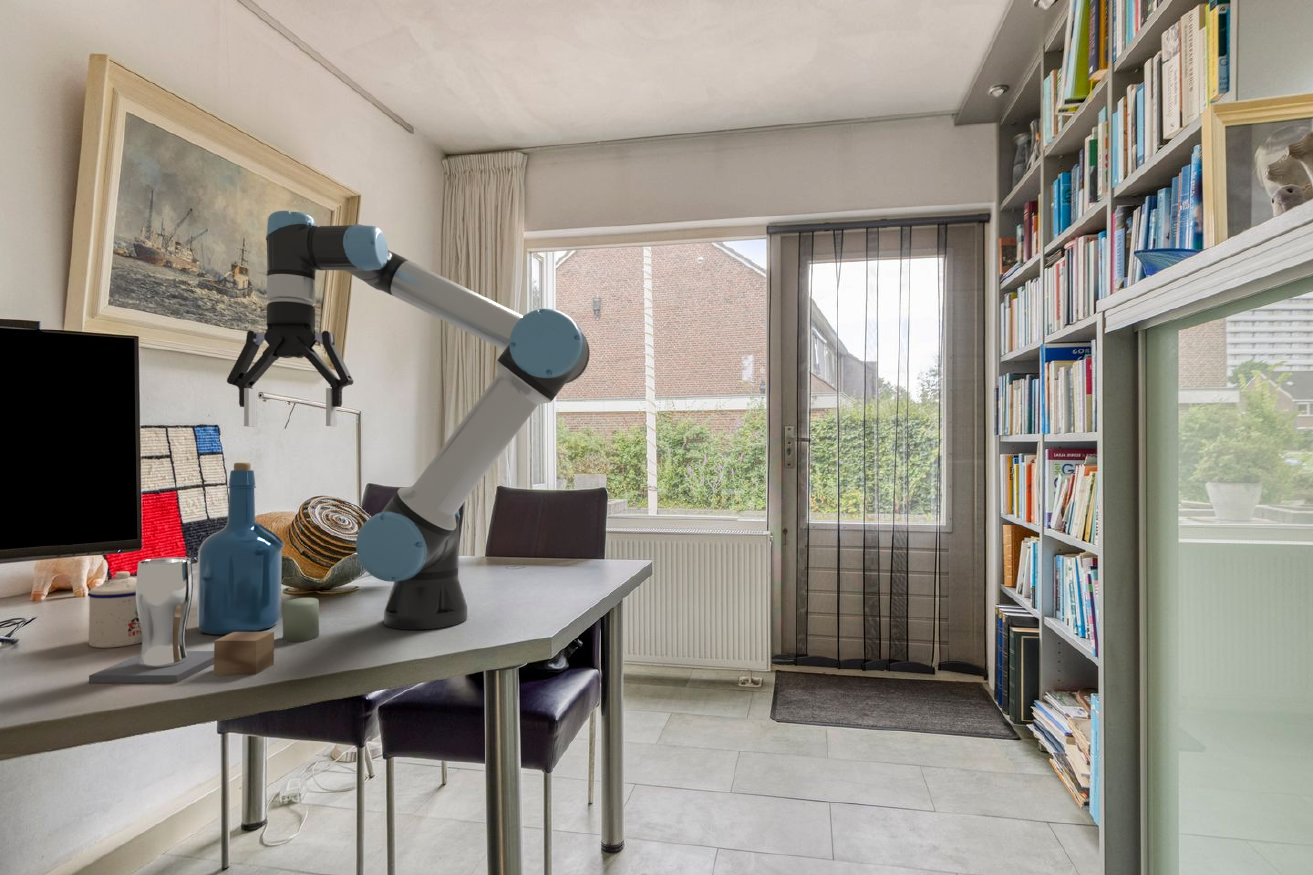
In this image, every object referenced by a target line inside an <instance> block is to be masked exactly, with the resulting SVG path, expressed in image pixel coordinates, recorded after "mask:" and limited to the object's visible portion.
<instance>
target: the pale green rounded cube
mask: <svg viewBox="0 0 1313 875" xmlns="http://www.w3.org/2000/svg"><path fill="white" fill-rule="evenodd" d="M319 602H320V601H319V599H318V598H316V597H299V598H293V599H289V600H286V601H284V602H283V603H282V640H283V641H285V642H289V643H295V642H296V643H297V642H299V643H300V642H301V643H302V642H305V641H306V642H307V641H310V640H314V639H316V638H317V637H319V636H320V603H319Z"/></svg>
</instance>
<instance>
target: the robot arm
mask: <svg viewBox="0 0 1313 875" xmlns="http://www.w3.org/2000/svg"><path fill="white" fill-rule="evenodd" d="M266 228H267V230H266V235H265V241H266V260H267V261H266V264H267V266H266V268H267V269H266V270H267V271H266V300H267V301H268V303H267V304H266V328H267V329H266V331H265V332H264V333H263V332H258V331H254V330H252V329H251V330H248V331H247V332H246V338H245V344H244V346H243V348H242V349H241V351H240V354H239V356H237V359H236V361H235V363H234V365H233V367H232V369H231V371H230V372H229V375H228V376H227V378H226V383H228V384H229V385H232V386H235V387H237V388H238V405H239V407H240V408H243V426H244V427H248V428H249V427H250V428H251V427H252V428H254V427H255V428H257V424H258V423H257V418H258V417H257V412H258V411H257V405H258V404H257V398H258V397H257V391H258V390H257V389H255V388H254V387H253V386H254V385H255V384H256V383H257V381H259V379H260V378H262V377H263V375H264V374H265V373H266V371H268V369H269V368H270V367H271V366H272V365H273V363H274V362H276V361H278V360H279V358H284V359H291V358H297V359H303V358H305V359H307V360H308V362H309V363H311V365H312V366H313V367H314V368H315V370H317V372H318V373H319V374H320V375H321V376H322V378H323V379H324V380H325V381H326V382H327V383H328V384H329V387H326V388H325V427H337V426H338V425H337V424H338V422H337V420H338V419H337V416H338V415H337V412H338V410H337V409H338V408H341V407H342V404H343V388H346V387H348V386H352V385H353V384H354V379H353V377H352V375H351V373H350V371H349V370H348V368H347V365H346V364H345V362H344V360H343V358H342V356H341V354H340V352H339V350H338V347H337V346H336V341H335V340H336V339H335V334H334V333H332V332H330V331H328V330H323V331H322V332H316V330H315V329H316V308H315V307H314V306H313V305H314V304H315V303H316V271H345V272H347V273H348V274H350V275H352V276H354V277H356V278H357V279H360V280H361V281H363V282H365V284H367V285H368V286H369V287H372V288H374V289H375V290H378V291H382V292H384V293H386V294H388V295H390V296H393V297H395V298H396V299H398V300H401V301H403V302H405V303H407V304H409V305H410V306H413V307H415V308H417V309H419V310H421V311H423V312H424V313H427V314H429V315H432V316H434V317H435V318H438V319H439V320H441V321H444V322H446V323H447V324H449V325H452V326H453V327H456V328H458V329H460V330H462V331H464V332H466V333H468V334H471V335H472V336H474V337H476V338H477V339H481V340H482V341H483V342H486V343H488V344H490V345H492V346H494V347H497V348H498V349H500V350H502V351H503V352H502V353H501V354H500V356H499V357H498V358H497V360H495V363H496V370H497V373H496V375H495V377H494V378H493V380H492V381H491V383H490V384H489V385H488V387H487V388H486V389H485V390H484V391H483V393H482V394H481V396H480V397H479V398H478V399H477V401H476V402H475V404H474V405H473V406H472V408H471V409H470V410H469V411H468V413H467V414H466V415H465V417H464V418H463V419H462V420H461V422H460V423H459V425H458V426H457V427H456V429H455V430H454V431H453V432H452V434H451V435H450V437H449V438H448V439H447V441H446V442H445V443H444V445H442V447H441V448H440V449H439V451H438V452H437V453H436V454H435V456H434V457H433V459H432V460H431V461H430V463H429V464H428V466H427V467H426V468H425V469H424V470H423V472H422V474H420V476H419V477H418V478H417V479H416V481H415V482H414V484H413V485H411V486H410V485H409V486H404V487H400V488H399V489H398V490H397V491H396V492H395V494H394V495H393V496H392V498H391V499H390V500H389V502H387V504H386V505H385V507H384V508H383V509H382V511H380V512H378V513H376V514H374V515H373V516H370V518H369V519H367V520H366V521H365V522H364V523H363V524H362V526H361V527H360V529H359V531H358V533H357V536H356V542H355V550H356V554H357V558H358V561H359V563H360V565H361V566H362V568H363V569H364V570H365V571H366V572H367V573H368V574H370V575H371V576H372V577H374V578H376V579H378V580H379V581H383V582H389V583H390V582H392V583H393V585H392V587H391V590H390V593H389V596H388V600H387V602H386V605H385V608H384V611H383V624H384V625H385V627H388V628H389V627H390V628H392V629H396V630H397V629H399V630H430V629H440V628H446V627H451V626H455V625H457V624H461V623H463V622H465V621H466V620H468V604H467V602H466V599H465V596H464V593H463V589H462V586H461V582H460V579H459V578H460V577H459V562H460V561H459V558H460V557H459V550H460V548H459V545H460V543H459V542H460V521H461V516H460V508H461V507H462V506H463V505H464V503H465V502H466V500H467V499H468V498H469V496H470V495H471V494H472V493H473V491H474V490H475V488H476V487H477V486H478V485H479V484H480V482H481V481H482V479H483V478H484V477H485V476H486V474H487V472H488V471H489V470H490V469H491V468H492V466H493V465H494V464H495V462H496V461H497V459H498V458H499V457H500V455H501V454H502V453H503V452H504V450H505V449H506V448H507V447H508V446H509V444H510V443H511V442H512V440H513V438H515V436H516V434H517V433H518V432H519V431H520V429H521V428H522V427H523V425H524V424H525V423H526V421H527V420H528V418H529V417H530V416H531V415H532V414H533V413H534V411H535V410H536V408H537V407H538V406H539V405H542V404H549V403H552V402H553V400H554V399H555V397H556V396H557V395H558V394H559V393H560V391H561V390H562V389H563V387H564V386H565V385H566V384H570V383H572V382H574V381H576V380H578V379H579V378H580V376H582V375H583V373H584V372H585V371H586V369H587V367H588V364H589V363H590V362H589V361H590V350H591V349H590V345H589V343H588V340H587V338H586V336H585V335H584V333H583V332H582V328H581V327H580V326H579V324H578V323H577V321H575V320H573V318H572V317H570V316H568V315H567V314H566V313H564V312H562V311H560V310H557V309H553V308H538V309H535V310H531V311H529V312H527V313H525V314H524V315H523V314H521V313H518V312H517V311H515V310H512V309H510V308H508V307H506V306H504V305H502V304H500V303H498V302H496V301H493V300H492V299H490V298H487V297H485V296H483V295H481V294H480V293H477V292H475V291H473V290H471V289H469V288H466V287H465V286H462V285H461V284H458V283H456V282H455V281H453V280H451V279H449V278H447V277H444V276H442V275H439V274H437V273H435V272H433V271H431V270H430V269H427V268H425V267H423V266H421V265H420V264H417V263H415V262H413V261H412V260H411V261H410V260H409V259H407V258H405V257H403V256H401V255H399V254H398V253H395V252H394V251H391V250H390V249H389V248H388V242H387V239H386V237H385V236H384V232H383V231H382V230H381V229H380V227H378V226H375V225H364V224H353V225H349V224H348V225H316V220H315V218H313V217H312V216H310V215H309V214H306V213H304V212H300V211H290V210H277V211H274V212H272V213H270V215H268V218H267V226H266ZM264 341H266V343H267V344H268V346H266V348H265V350H263V351H262V355H261V356H260V357H258V359H257V360H256V361H255V362H254V359H255V358H256V355H257V353H258V351H259V349H260V347H261V345H263V344H264ZM317 342H319V344H320V345H323V348H324V350H325V352H326V354H327V356H328V358H329V360H330V362H331V364H332V365H333V368H334V369H335V372H336V374H337V376H338V377H339V378H338V377H337V376H336V375H335V373H334V372H333V371H332V370H331V369H330V367H329V366H328V365H327V364H326V363H325V362H324V361H323V359H321V357H320V355H319V354H318V353H317V351H316V350H315V349H314V348H313V347H314V346H315V344H316V343H317ZM253 362H254V364H253V365H252V363H253ZM251 365H252V366H251Z"/></svg>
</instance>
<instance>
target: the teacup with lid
mask: <svg viewBox="0 0 1313 875" xmlns="http://www.w3.org/2000/svg"><path fill="white" fill-rule="evenodd" d="M136 579H137V577H133V576H131V573H130V572H129V571H124V570H123V571H117V572H115V575H114V578H110V579H109V580H107V581H105V582H104V583H102V584H100V585H97V586H95V587H92V588H91V589H89V590H88V593H87V596H88V597H89V603H88V604H89V608H88V610H89V612H88V613H89V614H88V615H89V616H88V619H89V620H88V622H89V623H88V645H89V646H90V647H92V648H97V649H98V648H99V649H108V648H109V649H110V648H111V649H112V648H120V647H123V648H124V647H128V646H133V645H137V644H142V634H141V628H140V623H139V618H138V612H137V606H136Z"/></svg>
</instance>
